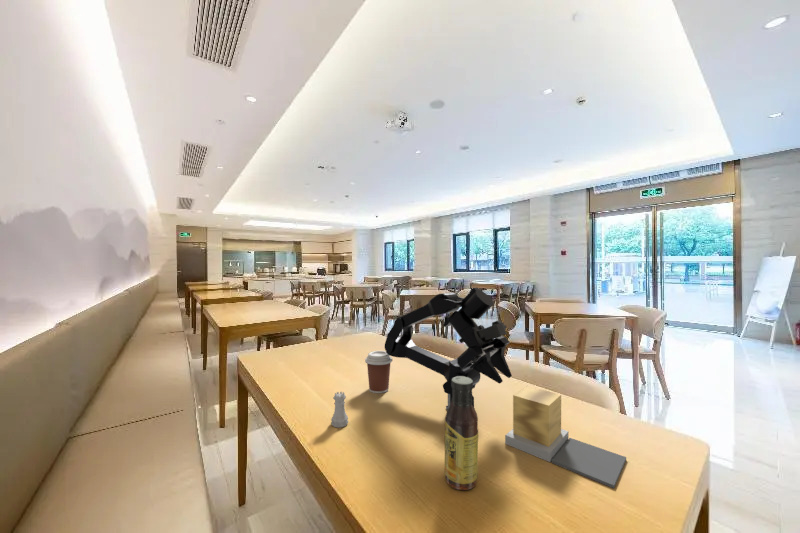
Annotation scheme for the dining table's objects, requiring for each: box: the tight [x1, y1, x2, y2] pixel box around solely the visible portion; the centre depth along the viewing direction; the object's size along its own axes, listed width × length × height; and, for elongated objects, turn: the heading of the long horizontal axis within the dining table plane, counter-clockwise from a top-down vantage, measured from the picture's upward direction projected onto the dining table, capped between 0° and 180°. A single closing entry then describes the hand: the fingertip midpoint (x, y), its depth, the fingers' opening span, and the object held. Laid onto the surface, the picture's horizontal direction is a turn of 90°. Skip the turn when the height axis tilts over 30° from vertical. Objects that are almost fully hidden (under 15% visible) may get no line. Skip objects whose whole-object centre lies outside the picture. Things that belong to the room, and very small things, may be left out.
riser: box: [504, 428, 570, 463], centre depth 75 cm, size 10×12×2 cm
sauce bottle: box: [444, 376, 479, 491], centre depth 61 cm, size 6×6×20 cm
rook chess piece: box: [330, 391, 349, 429], centre depth 84 cm, size 4×4×8 cm
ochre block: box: [512, 385, 562, 447], centre depth 75 cm, size 8×8×9 cm
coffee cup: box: [364, 350, 393, 394], centre depth 107 cm, size 9×9×12 cm
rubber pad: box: [551, 437, 627, 489], centre depth 67 cm, size 11×12×1 cm
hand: (505, 379), depth 80 cm, fingers open, 5 cm apart
